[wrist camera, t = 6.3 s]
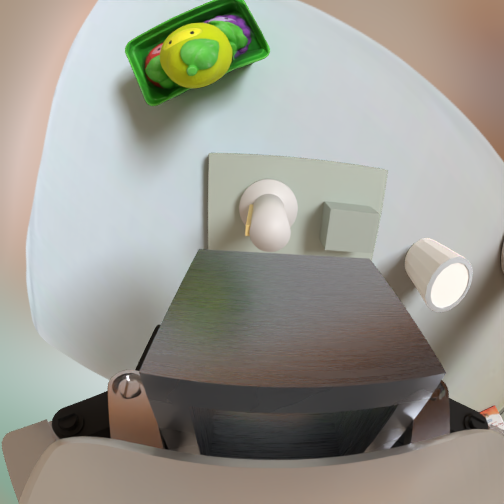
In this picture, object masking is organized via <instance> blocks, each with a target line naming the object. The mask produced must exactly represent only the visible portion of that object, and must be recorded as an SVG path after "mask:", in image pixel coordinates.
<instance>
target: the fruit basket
mask: <svg viewBox="0 0 504 504" xmlns="http://www.w3.org/2000/svg"><path fill="white" fill-rule="evenodd" d="M125 53H126V55H127V58H128V60H129V62H130V65H131V67H132V70H133V72H134V74H135V77H136V79H137V81H138V84H139V87H140V89H141V92H142V94H143V97H144V99H145V101H146V103H147V104H148V105H150V106H157V105H159V104H161V103H163V102H165V101H167V100H169V99H171V98H173V97H176V96H178V95H180V94H182V93H184V92H186V91H187V90H189V89H191V88H201V87H205V86H207V85H210V84H212V83H214V82H215V81H217V80H219V79H220V78H221V77H222V76H223V75H224V74H226V73H228V72H231V71H232V70H235V69H237V68H240V67H244V66H246V65H249V64H252V63H254V62H256V61H259V60H262V59H264V58H266V57H267V56H268V55H269V53H270V48H269V45H268V43H267V42H266V40H265V38H264V36H263V34H262V32H261V30H260V28H259V26H258V25H257V23H256V21H255V19H254V17H253V15H252V14H251V12H250V10H249V8H248V6H247V5H246V3H245V1H244V0H213V1H210V2H208V3H205V4H203V5H201V6H198V7H196V8H193V9H191V10H189V11H186V12H184V13H182V14H180V15H178V16H175V17H173V18H171V19H169V20H167V21H165V22H163V23H161V24H159V25H158V26H156V27H154V28H152V29H150V30H148V31H147V32H145V33H143V34H141V35H139V36H137V37H136V38H134V39H132V40H131V41H130V42H128V44H127V45H126V48H125Z"/></svg>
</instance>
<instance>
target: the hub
mask: <svg viewBox="0 0 504 504" xmlns="http://www.w3.org/2000/svg"><path fill="white" fill-rule="evenodd" d="M139 374H140V377H141V380H142V383H143V386H144V389H145V392H146V395H147V397H148V400H149V403H150V406H151V408H152V411H153V413H154V416H155V418H156V421H157V422H158V425H159V427H160V429H161V433H162V435H163V437H164V440H165V442H166V444H167V446H168V449H169V450H171V451H177V452H184V453H190V454H197V455H205V456H213V457H223V458H236V459H254V460H299V459H317V458H330V457H339V456H348V455H355V454H362V453H369V452H375V451H380V450H385V449H390V448H391V447H392V445H393V444H394V443H395V442H396V441H397V440H398V439H399V437H400V436H401V435H402V434H403V433H404V431H405V430H406V428H407V427H408V426H409V424H410V423H411V422H412V421H413V419H415V417H416V416H417V415H418V413H419V412H420V411H421V409H422V408H423V407H424V405H425V404H426V403H427V401H428V400H429V398H430V397H431V395H432V394H433V392H434V391H435V389H436V388H437V386H438V385H439V383H440V382H441V380H442V379H443V377H444V375H445V374H446V372H445V370H444V368H443V367H442V365H441V363H440V362H439V360H438V358H437V357H436V355H435V353H434V352H433V350H432V348H431V347H430V345H429V343H428V342H427V340H426V339H425V337H424V336H423V334H422V332H421V331H420V329H419V328H418V326H417V325H416V323H415V322H414V320H413V319H412V317H411V316H410V314H409V313H408V311H407V310H406V308H405V307H404V305H403V304H402V303H401V301H400V300H399V298H398V297H397V295H396V294H395V293H394V291H393V290H392V288H391V287H390V286H389V284H388V283H387V281H386V280H385V279H384V277H383V276H382V275H381V273H380V272H379V271H378V269H377V268H376V266H375V265H374V264H373V263H372V261H371V260H370V259H369V258H351V257H333V256H315V255H297V254H278V253H260V252H242V251H224V250H206V249H199V250H198V252H197V254H196V256H195V258H194V260H193V261H192V263H191V265H190V267H189V269H188V271H187V273H186V275H185V277H184V279H183V281H182V283H181V285H180V287H179V289H178V291H177V293H176V295H175V297H174V299H173V301H172V303H171V305H170V307H169V309H168V311H167V313H166V315H165V317H164V319H163V321H162V323H161V326H160V328H159V330H158V332H157V334H156V336H155V338H154V340H153V342H152V345H151V347H150V349H149V351H148V353H147V355H146V358H145V360H144V362H143V364H142V366H141V369H140V371H139Z"/></svg>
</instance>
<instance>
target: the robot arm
mask: <svg viewBox="0 0 504 504" xmlns="http://www.w3.org/2000/svg"><path fill="white" fill-rule="evenodd" d="M501 266H502V271H503V273H504V242H503V247H502V254H501ZM160 326H161V325H157V326H156V328H155V330H154V332H153V334H152V336H151V338H150V340H149V342H148V344H147V346H146V348H145V350H144V353H143V355H142V357H141V359H140V361H139V363H138V365H137V367H136V370H124V371H121V372H119V373H117V374H115V375H114V376H113V377H112V378H111V379H110V381H109V383H108V391H106V392H104V393H101V394H99V395H96V396H94V397H91V398H89V399H86V400H83V401H81V402H78V403H75V404H73V405H70V406H67V407H65V408H62V409H60V410H59V411H58V412H57V413H56V414H55V415H54V417H53V419H52V421H50V422H48V421H47V420H44V421H41V422H38V423H35V424H32V425H30V426H27V427H24V428H21V429H18V430H15V431H11V432H9V433H8V434H6V435H5V437H4V438H3V441H2V450H3V454H4V458H5V462H6V465H7V469H8V472H9V476H10V479H11V482H12V485H13V488H14V491H15V493H16V496H17V499H18V502H19V504H504V430H503V429H501V428H499V427H497V426H494V425H492V424H490V425H489V426H488V422H487V420H486V418H485V417H484V416H483V415H482V414H481V413H479V412H477V411H475V410H473V409H471V408H469V407H467V406H464V405H462V404H460V403H458V402H456V401H454V400H452V399H450V398H449V391H448V387H447V386H446V384H445V383H444V382H443V381H442V380H441V382H440V383H439V385H438V386H437V388H436V389H435V391H434V392H433V394H432V395H431V397H430V398H429V400H428V401H427V403H426V404H425V405H424V407H423V408H422V409H421V411H420V412H419V413H418V415H417V416H416V417H415V419H413V421H412V422H411V423H410V424H409V426H408V427H407V428H406V430H405V431H404V433H403V434H402V435H401V436H400V437H399V439H398V440H397V441H396V442H395V443H394V444H393V445H392V447H391V448H390V449H385V450H380V451H375V452H369V453H362V454H355V455H348V456H339V457H330V458H317V459H299V460H254V459H236V458H223V457H213V456H205V455H197V454H190V453H184V452H177V451H171V450H169V449H168V446H167V444H166V442H165V440H164V437H163V435H162V433H161V429H160V427H159V425H158V422H157V421H156V418H155V416H154V413H153V411H152V408H151V406H150V403H149V400H148V397H147V395H146V392H145V389H144V386H143V383H142V380H141V377H140V374H139V371H140V369H141V366H142V364H143V362H144V360H145V358H146V355H147V353H148V351H149V349H150V347H151V345H152V342H153V340H154V338H155V336H156V334H157V332H158V330H159V328H160Z"/></svg>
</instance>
